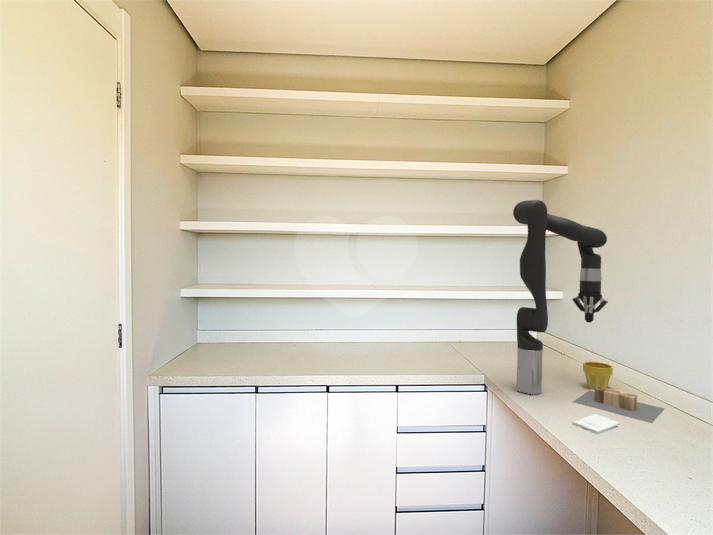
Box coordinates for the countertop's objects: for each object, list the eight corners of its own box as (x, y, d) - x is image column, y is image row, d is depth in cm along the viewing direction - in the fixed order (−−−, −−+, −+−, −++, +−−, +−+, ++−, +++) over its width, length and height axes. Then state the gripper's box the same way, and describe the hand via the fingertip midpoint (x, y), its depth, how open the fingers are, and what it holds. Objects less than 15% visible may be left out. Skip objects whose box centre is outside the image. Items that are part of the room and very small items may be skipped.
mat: (652, 425, 128) (652, 423, 128) (572, 403, 146) (572, 401, 146) (664, 410, 140) (664, 408, 140) (589, 391, 158) (589, 390, 158)
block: (633, 398, 137) (594, 389, 146) (633, 411, 137) (594, 401, 146) (637, 395, 140) (598, 386, 149) (636, 407, 140) (598, 398, 149)
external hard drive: (620, 427, 127) (597, 436, 121) (594, 418, 134) (571, 425, 128) (620, 422, 127) (597, 430, 121) (594, 413, 134) (572, 420, 128)
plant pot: (581, 382, 169) (582, 359, 168) (609, 386, 164) (610, 363, 164) (583, 390, 159) (584, 366, 159) (613, 394, 155) (614, 369, 155)
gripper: (569, 279, 163) (568, 321, 164) (605, 281, 154) (604, 325, 154) (576, 278, 168) (575, 319, 169) (612, 280, 159) (610, 323, 159)
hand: (589, 322), depth 162 cm, fingers closed
